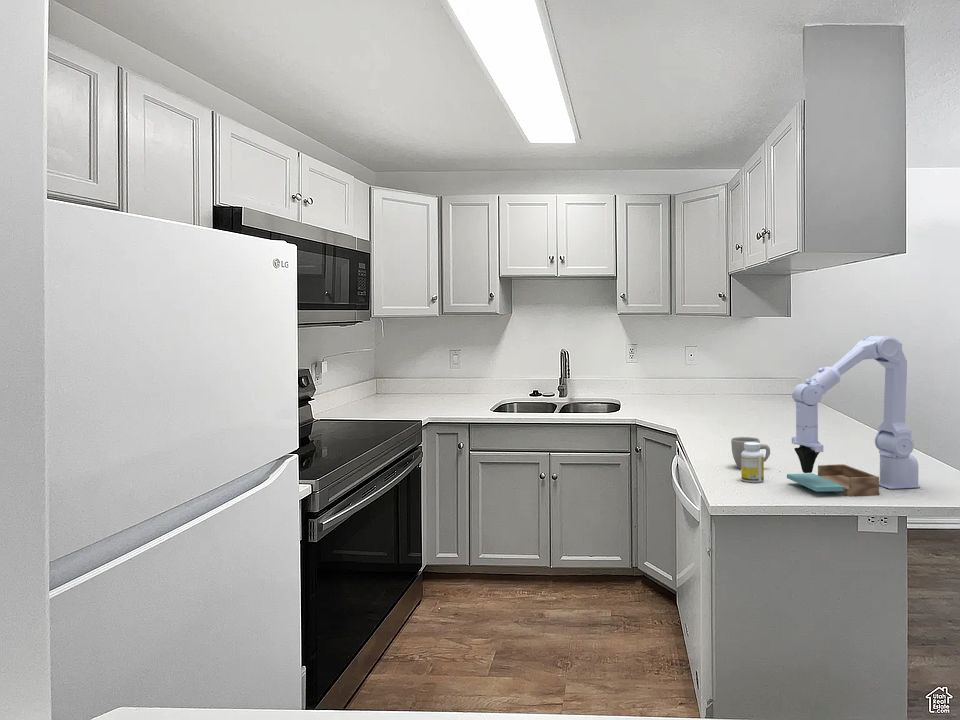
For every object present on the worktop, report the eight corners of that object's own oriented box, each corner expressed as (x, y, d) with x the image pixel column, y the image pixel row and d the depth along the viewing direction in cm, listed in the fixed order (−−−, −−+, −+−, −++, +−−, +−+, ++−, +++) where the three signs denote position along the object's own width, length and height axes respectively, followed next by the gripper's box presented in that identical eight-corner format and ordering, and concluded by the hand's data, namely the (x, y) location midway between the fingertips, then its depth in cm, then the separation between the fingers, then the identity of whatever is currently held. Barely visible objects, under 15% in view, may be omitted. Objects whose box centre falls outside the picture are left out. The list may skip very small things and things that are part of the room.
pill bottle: (758, 478, 234) (758, 441, 233) (767, 482, 227) (767, 444, 226) (738, 478, 233) (737, 441, 233) (746, 483, 227) (745, 445, 226)
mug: (730, 470, 246) (730, 440, 246) (732, 464, 254) (732, 436, 254) (770, 472, 242) (769, 442, 241) (770, 466, 250) (770, 437, 249)
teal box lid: (814, 473, 226) (786, 474, 225) (846, 486, 209) (816, 487, 208) (814, 477, 226) (786, 477, 225) (845, 490, 209) (816, 491, 208)
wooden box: (843, 480, 227) (843, 464, 227) (879, 494, 209) (879, 477, 209) (814, 481, 226) (814, 465, 226) (847, 496, 209) (847, 478, 208)
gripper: (781, 422, 223) (781, 468, 224) (806, 430, 208) (806, 478, 209) (804, 421, 223) (805, 466, 224) (830, 429, 209) (830, 477, 210)
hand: (807, 472), depth 217 cm, fingers closed
